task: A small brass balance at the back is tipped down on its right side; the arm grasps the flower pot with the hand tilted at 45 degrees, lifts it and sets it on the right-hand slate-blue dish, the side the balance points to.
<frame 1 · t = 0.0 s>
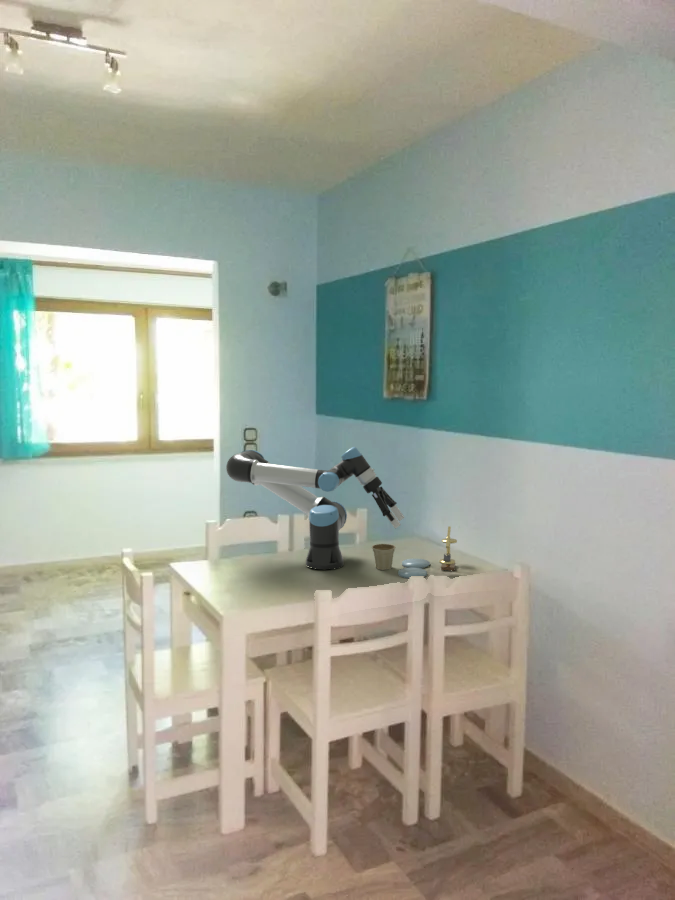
hand: (400, 523, 285), 15 cm above the table, tool tilted 35°, fingers open, 13 cm apart
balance: (448, 568, 273), on the table
flower pot: (383, 568, 275), on the table
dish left: (415, 564, 278), on the table
dish right: (412, 574, 266), on the table
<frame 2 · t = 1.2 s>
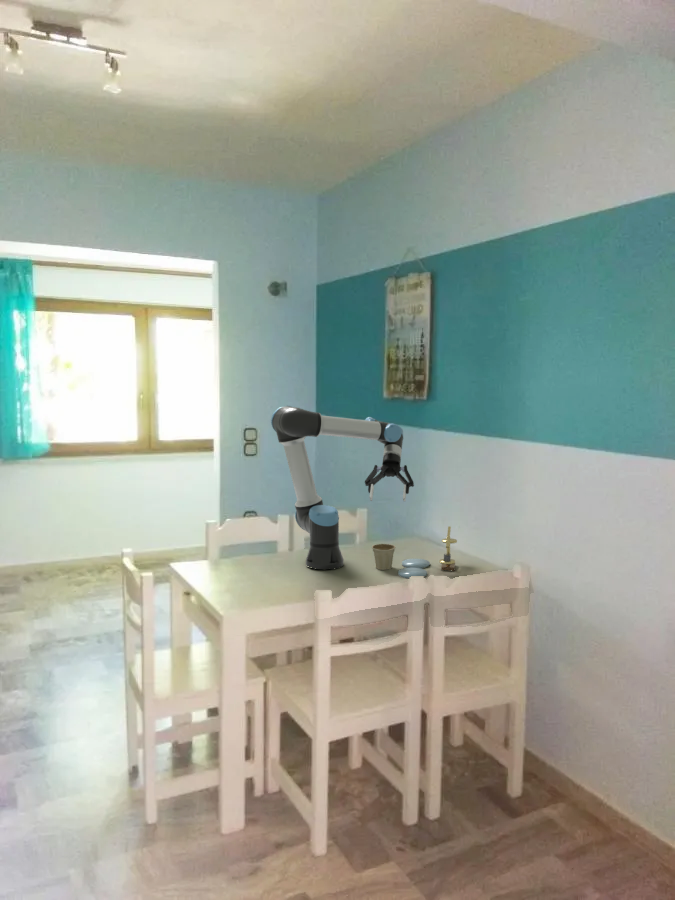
hand: (387, 499, 282), 26 cm above the table, tool tilted 45°, fingers open, 13 cm apart
nothing on the table moved.
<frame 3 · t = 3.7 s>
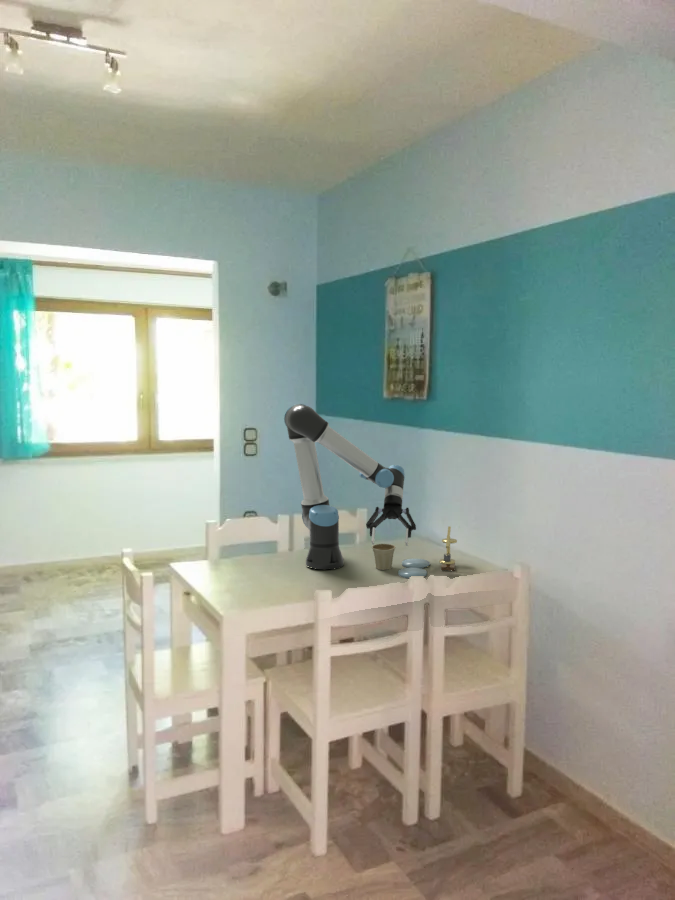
hand: (389, 543, 277), 9 cm above the table, tool tilted 45°, fingers open, 13 cm apart
nothing on the table moved.
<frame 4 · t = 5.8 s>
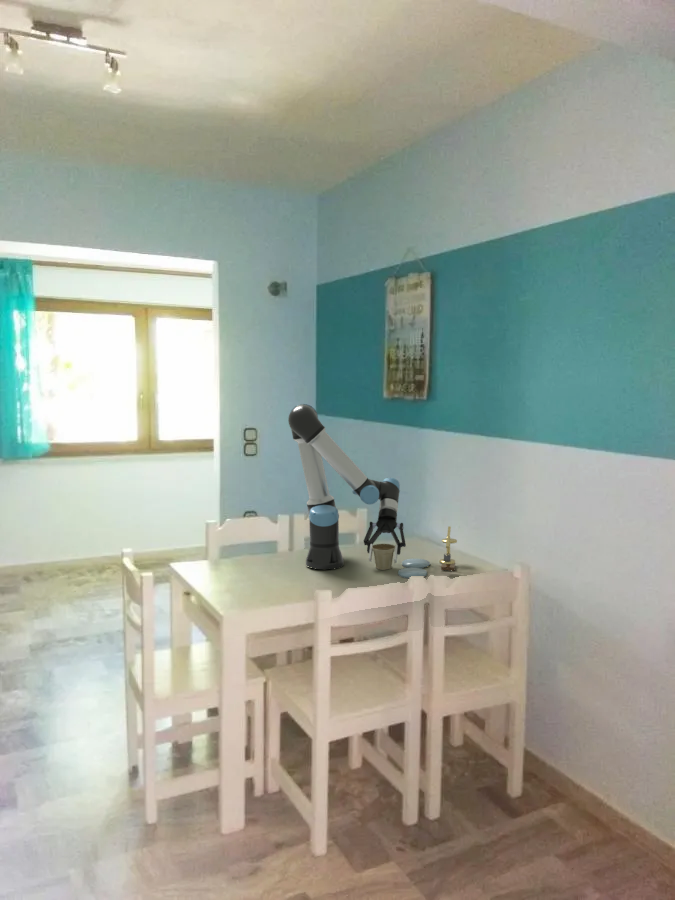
hand: (382, 560, 271), 4 cm above the table, tool tilted 45°, fingers closed on flower pot, 9 cm apart
flower pot: (383, 568, 274), on the table, touching gripper
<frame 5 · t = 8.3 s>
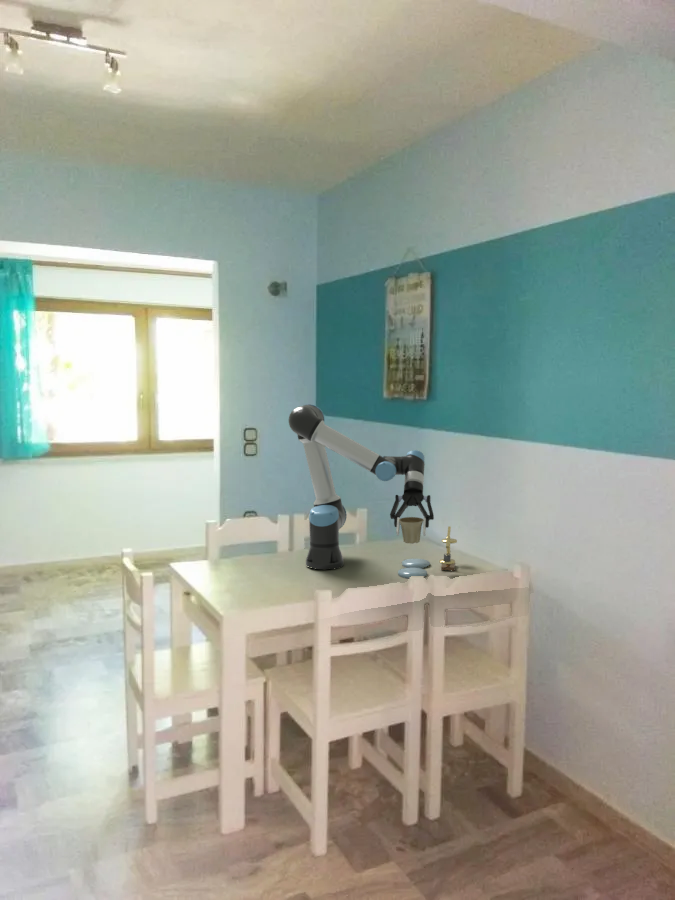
hand: (410, 533, 262), 16 cm above the table, tool tilted 45°, fingers closed on flower pot, 9 cm apart
flower pot: (411, 542, 265), point 12 cm above the table, touching gripper
when the fingers open (6 cm above the table, at t = 10.7 s): flower pot drops 1 cm, resting on dish right.
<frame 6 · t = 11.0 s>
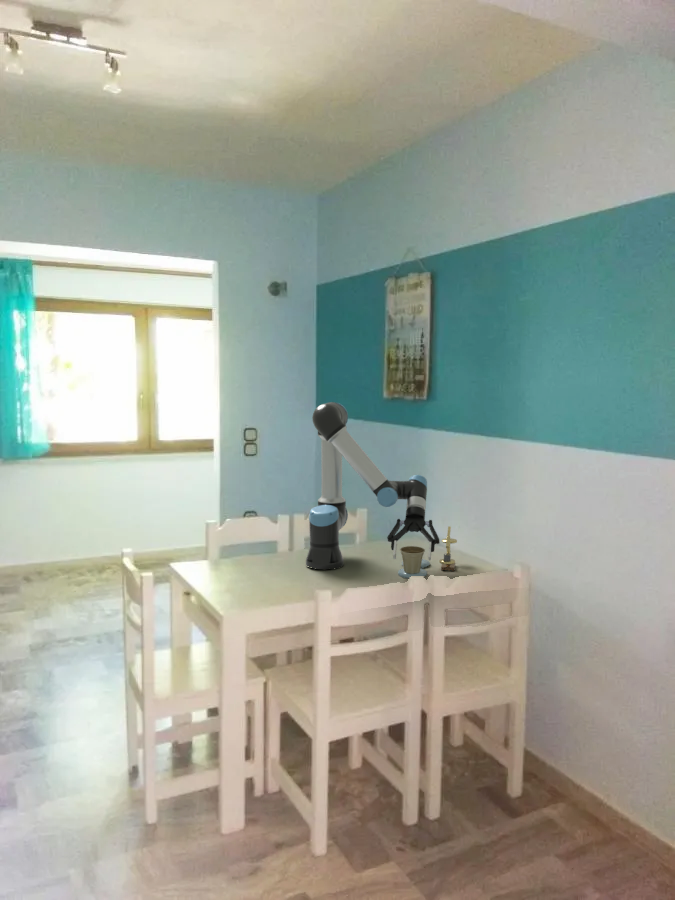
hand: (411, 557, 262), 7 cm above the table, tool tilted 45°, fingers open, 13 cm apart
flower pot: (412, 571, 266), point 1 cm above the table, touching dish right
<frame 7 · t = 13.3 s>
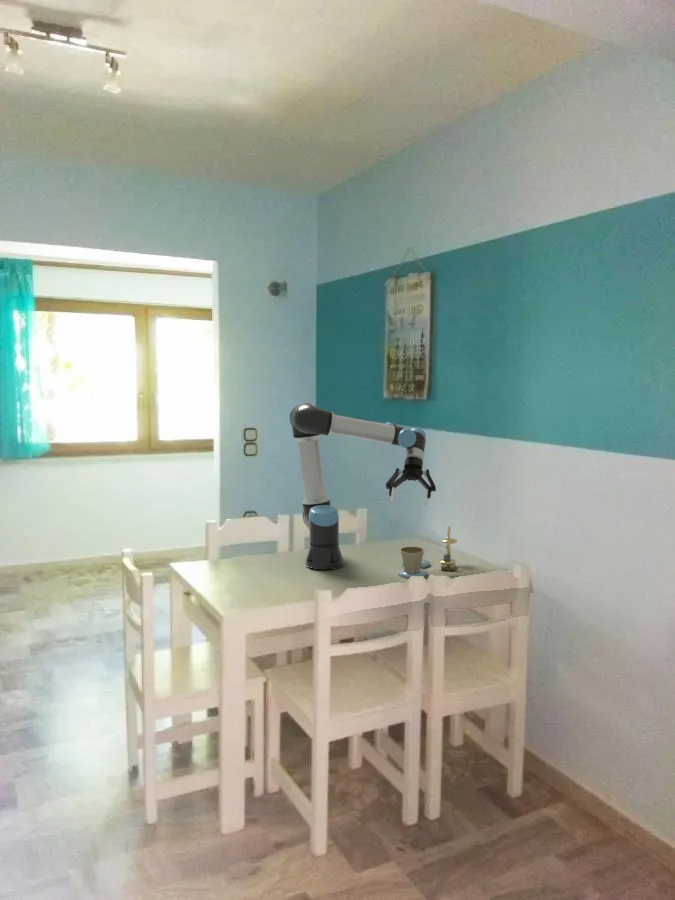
hand: (408, 503, 277), 25 cm above the table, tool tilted 45°, fingers open, 13 cm apart
nothing on the table moved.
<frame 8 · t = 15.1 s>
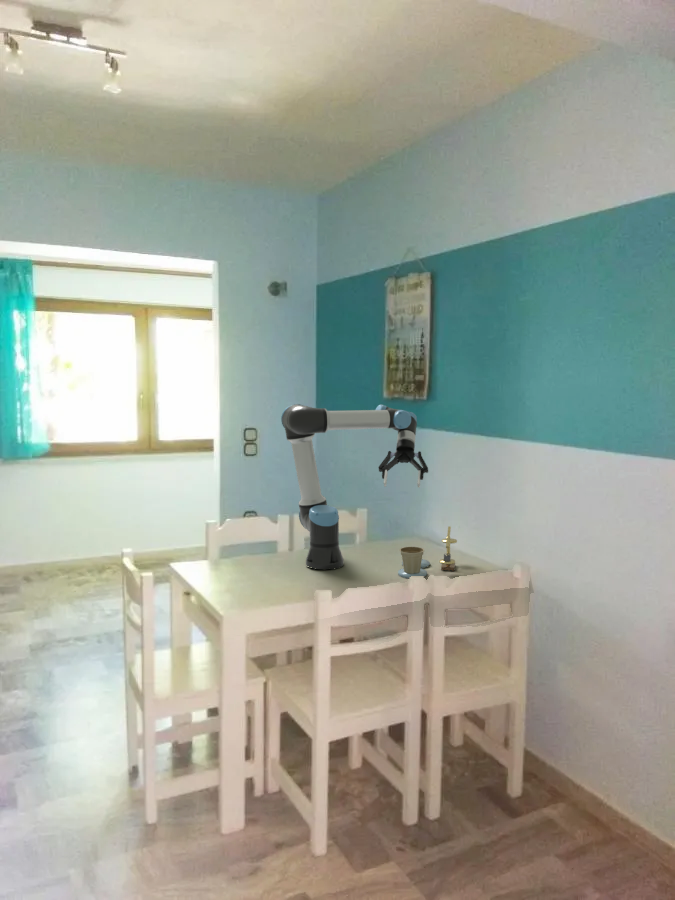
hand: (401, 485, 279), 32 cm above the table, tool tilted 45°, fingers open, 13 cm apart
nothing on the table moved.
at the end: flower pot 0.2 cm from the dish right (horizontally); flower pot tilted 0°; the gripper is holding nothing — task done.
